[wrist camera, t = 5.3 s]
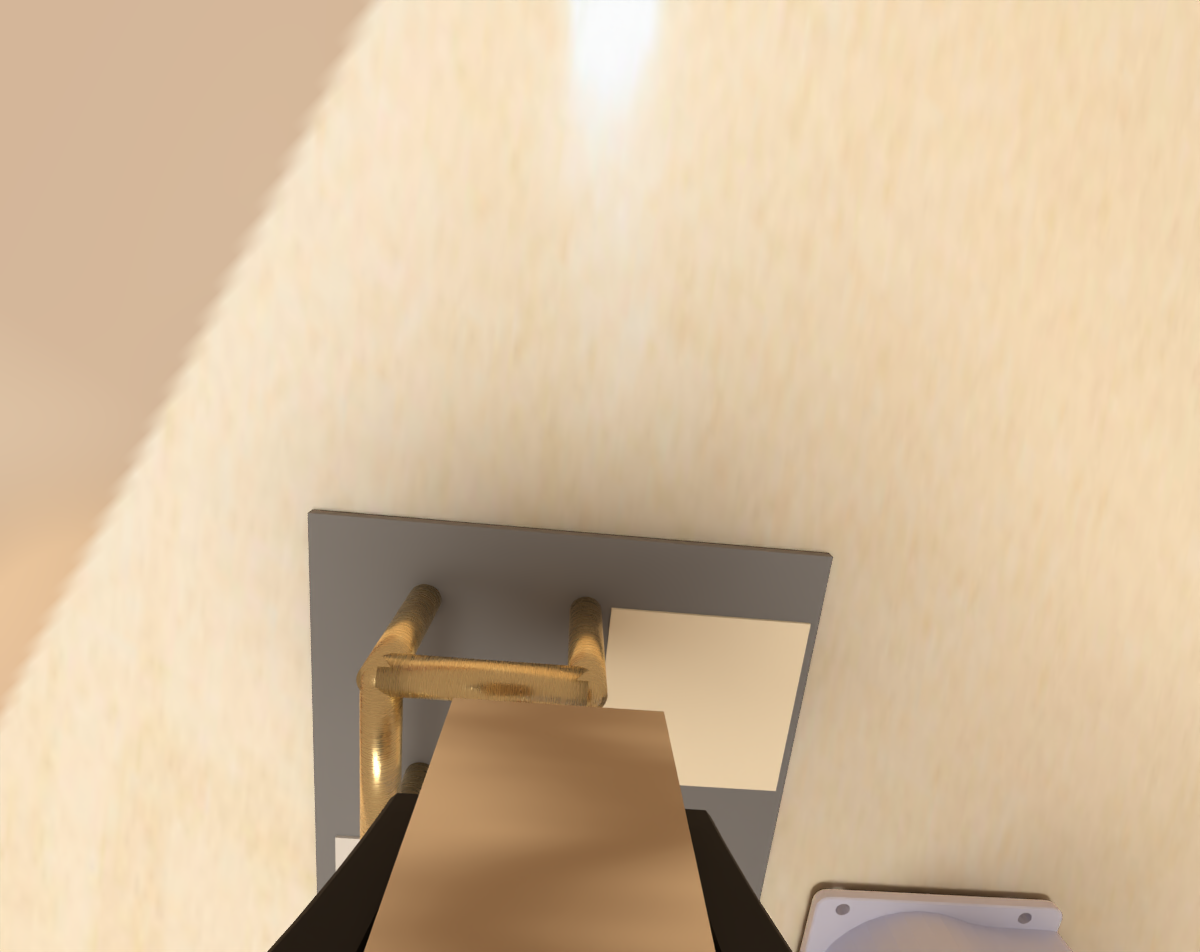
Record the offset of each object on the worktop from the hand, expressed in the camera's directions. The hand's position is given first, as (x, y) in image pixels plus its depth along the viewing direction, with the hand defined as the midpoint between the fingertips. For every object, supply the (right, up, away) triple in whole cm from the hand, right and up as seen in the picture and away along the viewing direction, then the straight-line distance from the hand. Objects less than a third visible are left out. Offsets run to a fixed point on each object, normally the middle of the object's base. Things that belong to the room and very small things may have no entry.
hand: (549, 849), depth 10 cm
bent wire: (-2, -1, +9) cm, 9 cm away
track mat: (-1, -4, +10) cm, 11 cm away
